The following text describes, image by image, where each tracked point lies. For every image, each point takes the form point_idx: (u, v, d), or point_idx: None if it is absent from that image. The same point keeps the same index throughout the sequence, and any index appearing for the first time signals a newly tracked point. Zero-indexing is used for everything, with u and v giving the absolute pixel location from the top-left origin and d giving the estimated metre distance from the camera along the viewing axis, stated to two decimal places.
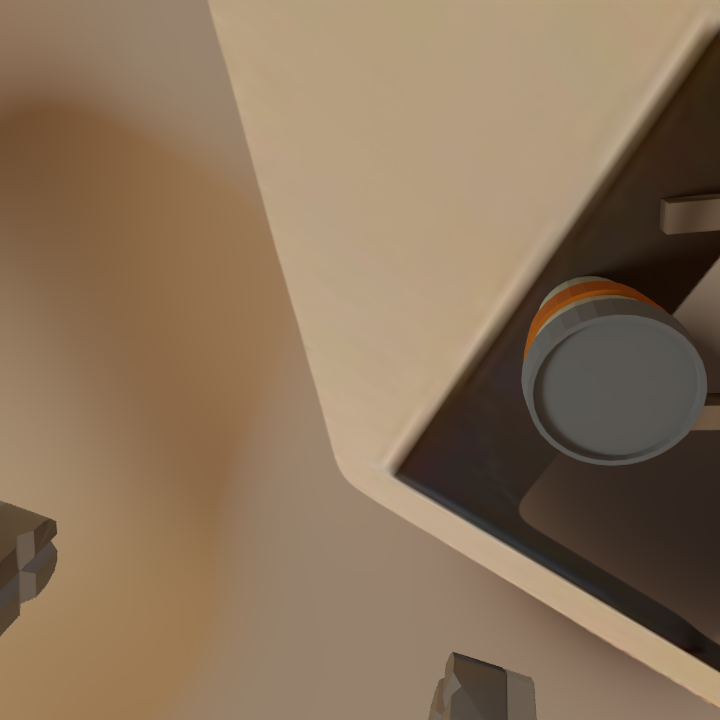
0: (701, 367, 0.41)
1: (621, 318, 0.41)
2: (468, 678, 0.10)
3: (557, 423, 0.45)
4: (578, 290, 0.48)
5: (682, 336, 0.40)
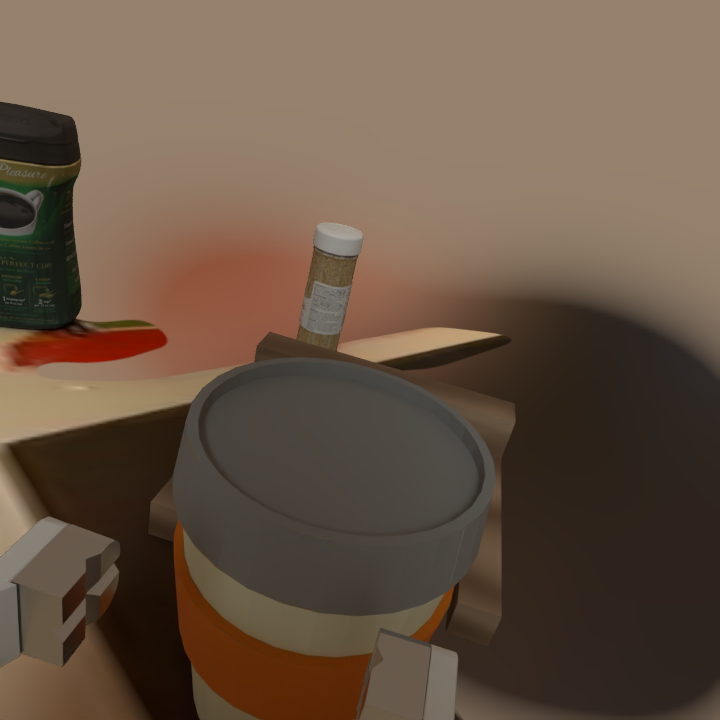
0: (335, 361, 0.29)
1: (212, 387, 0.24)
2: (391, 652, 0.10)
3: (392, 529, 0.20)
4: None
5: (279, 359, 0.28)
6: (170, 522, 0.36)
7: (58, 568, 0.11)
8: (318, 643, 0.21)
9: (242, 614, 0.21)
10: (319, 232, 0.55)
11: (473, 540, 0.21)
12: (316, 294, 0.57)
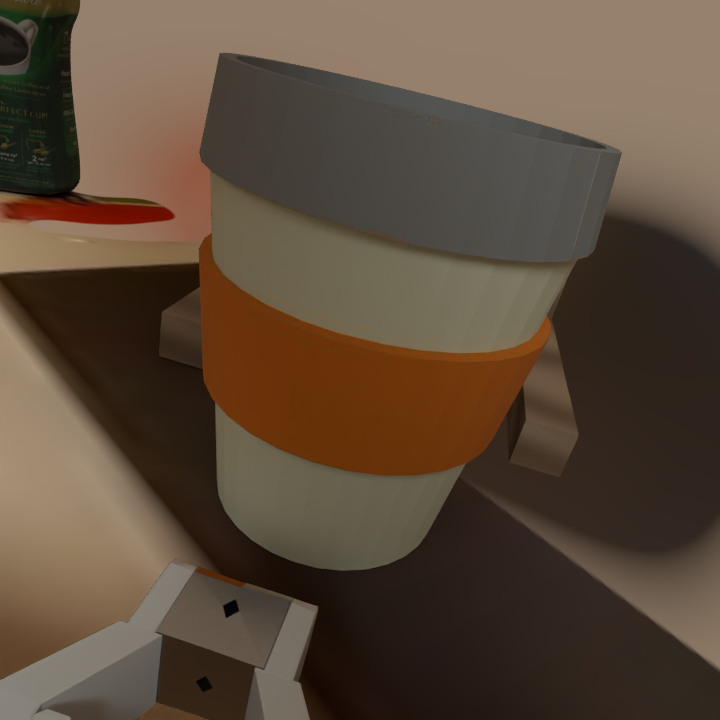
0: (391, 86, 0.23)
1: (248, 56, 0.19)
2: (249, 604, 0.11)
3: None
4: None
5: (325, 71, 0.22)
6: (185, 338, 0.30)
7: (198, 616, 0.10)
8: (399, 321, 0.15)
9: (297, 285, 0.15)
10: None
11: (602, 197, 0.16)
12: None
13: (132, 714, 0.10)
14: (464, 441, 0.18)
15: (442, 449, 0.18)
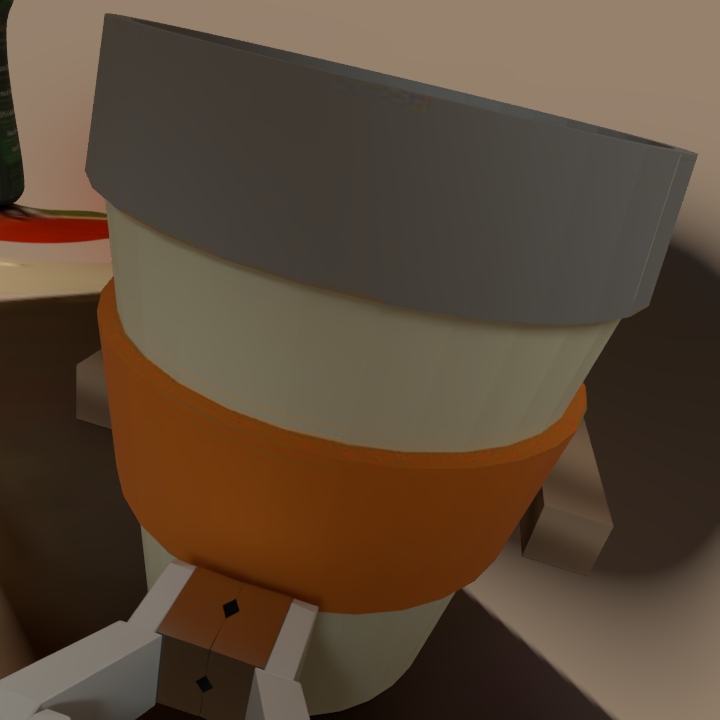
0: None
1: (167, 25, 0.14)
2: (249, 604, 0.11)
3: None
4: None
5: (283, 50, 0.17)
6: (107, 397, 0.24)
7: (198, 616, 0.10)
8: (373, 413, 0.10)
9: (217, 358, 0.10)
10: None
11: (674, 220, 0.11)
12: None
13: (131, 714, 0.10)
14: (470, 560, 0.13)
15: (440, 575, 0.13)
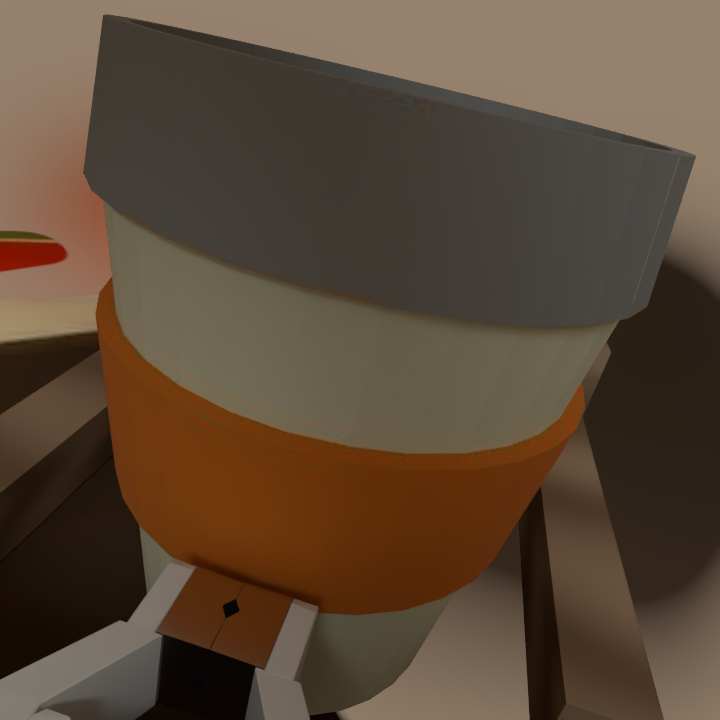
0: None
1: (164, 25, 0.14)
2: (249, 604, 0.11)
3: None
4: None
5: (280, 50, 0.17)
6: None
7: (198, 616, 0.10)
8: (374, 416, 0.10)
9: (218, 361, 0.10)
10: None
11: (672, 222, 0.11)
12: None
13: (131, 714, 0.10)
14: (470, 559, 0.13)
15: (440, 575, 0.13)
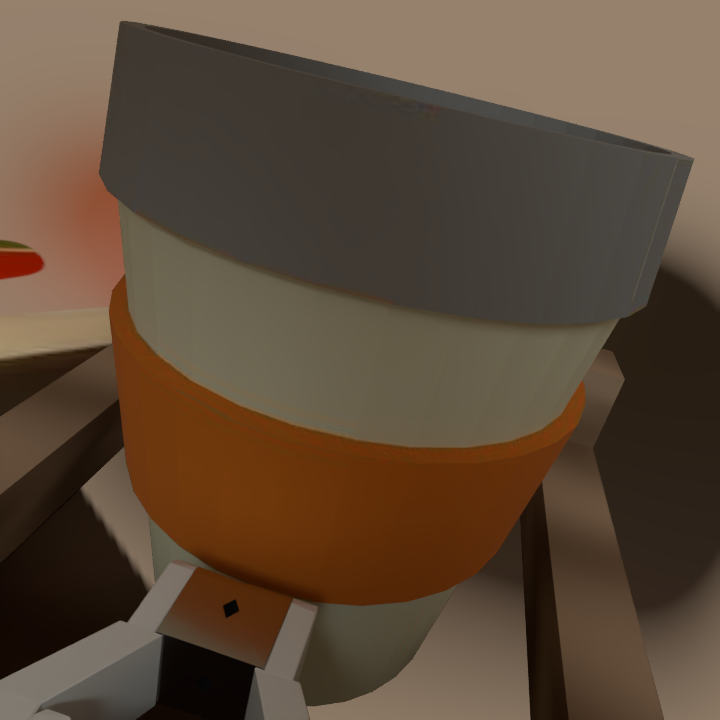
0: (374, 74, 0.18)
1: (177, 30, 0.14)
2: (249, 604, 0.11)
3: None
4: None
5: (288, 54, 0.17)
6: None
7: (198, 616, 0.10)
8: (380, 409, 0.10)
9: (229, 357, 0.11)
10: None
11: (671, 223, 0.11)
12: None
13: (132, 714, 0.10)
14: (472, 553, 0.13)
15: (443, 568, 0.13)
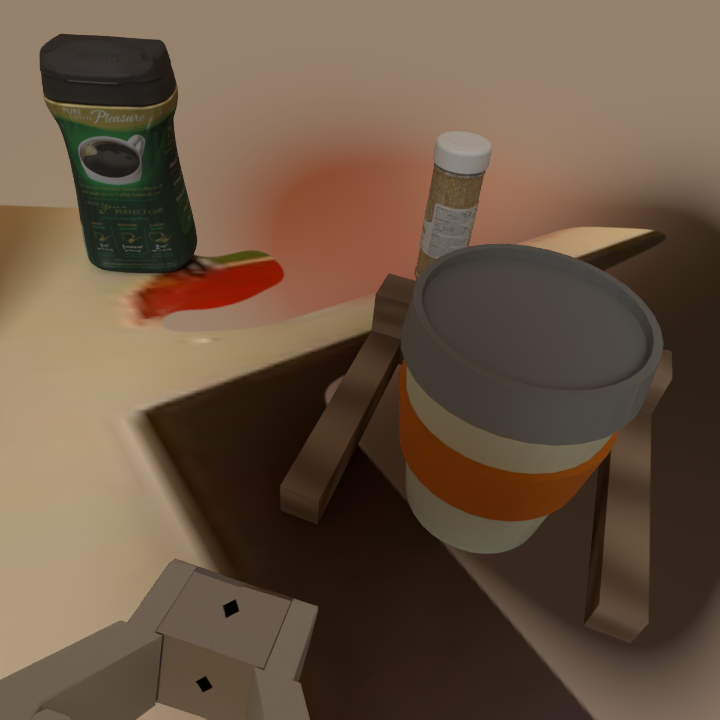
0: (515, 246, 0.34)
1: (424, 276, 0.31)
2: (249, 604, 0.11)
3: (580, 385, 0.27)
4: None
5: (469, 247, 0.33)
6: (300, 504, 0.36)
7: (198, 616, 0.10)
8: (521, 464, 0.28)
9: (464, 443, 0.29)
10: (440, 147, 0.48)
11: (644, 392, 0.27)
12: (438, 218, 0.51)
13: (131, 714, 0.10)
14: (559, 502, 0.32)
15: (545, 508, 0.32)
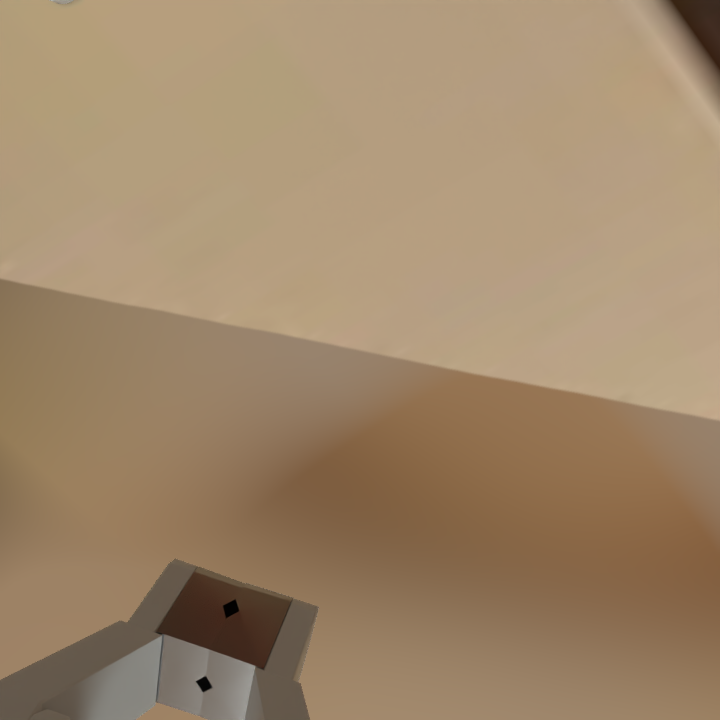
0: None
1: None
2: (249, 604, 0.11)
3: None
4: None
5: None
6: None
7: (198, 616, 0.10)
8: None
9: None
10: None
11: None
12: None
13: (132, 714, 0.10)
14: None
15: None
